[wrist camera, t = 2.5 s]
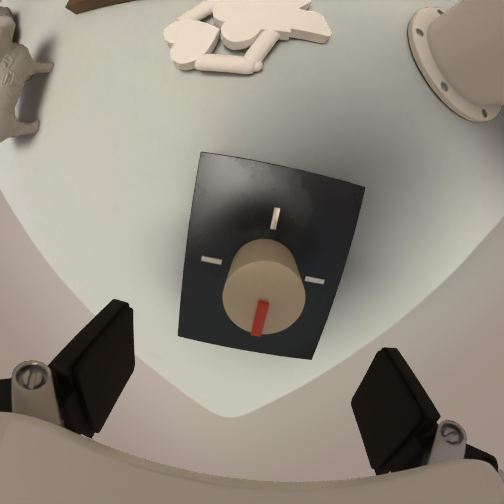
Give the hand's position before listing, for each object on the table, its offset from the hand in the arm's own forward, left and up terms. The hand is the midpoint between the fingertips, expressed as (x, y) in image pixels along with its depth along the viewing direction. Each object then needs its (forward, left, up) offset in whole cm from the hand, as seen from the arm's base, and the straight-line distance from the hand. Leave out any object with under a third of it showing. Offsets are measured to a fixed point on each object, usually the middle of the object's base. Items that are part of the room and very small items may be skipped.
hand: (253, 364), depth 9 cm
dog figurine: (+27, -13, -13) cm, 32 cm away
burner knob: (0, 0, -10) cm, 10 cm away
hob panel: (0, 0, -13) cm, 13 cm away
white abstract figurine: (+5, -18, -13) cm, 23 cm away
